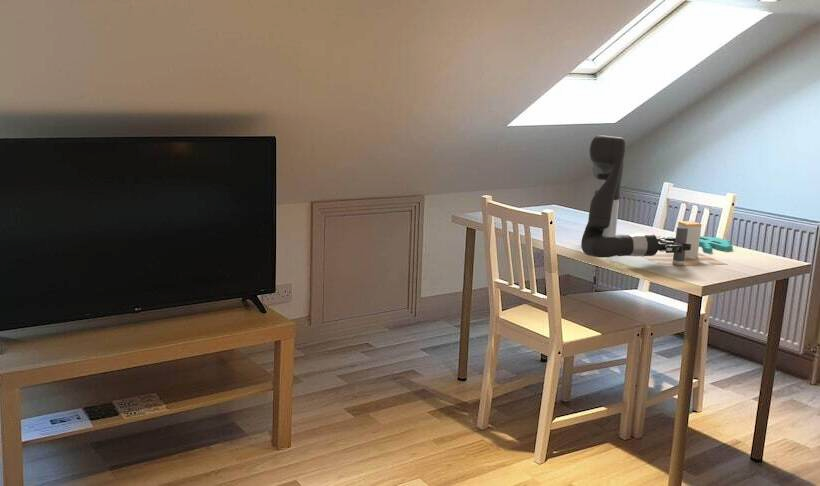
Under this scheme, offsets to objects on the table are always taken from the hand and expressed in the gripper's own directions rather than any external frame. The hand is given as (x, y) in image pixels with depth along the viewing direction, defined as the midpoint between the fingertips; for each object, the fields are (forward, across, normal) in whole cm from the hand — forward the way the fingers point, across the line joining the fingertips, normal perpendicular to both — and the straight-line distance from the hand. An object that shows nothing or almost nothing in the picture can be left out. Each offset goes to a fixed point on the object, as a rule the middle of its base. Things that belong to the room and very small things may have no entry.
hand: (682, 244), depth 276 cm
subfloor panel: (+4, +6, +8) cm, 11 cm away
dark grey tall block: (-1, 0, +7) cm, 7 cm away
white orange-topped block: (+10, +12, +7) cm, 17 cm away
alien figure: (+32, +32, +9) cm, 46 cm away
